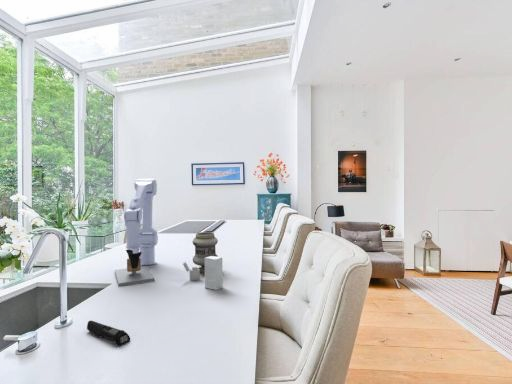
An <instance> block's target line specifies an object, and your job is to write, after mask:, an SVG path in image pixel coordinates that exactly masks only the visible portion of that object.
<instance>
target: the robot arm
mask: <svg viewBox="0 0 512 384" xmlns="http://www.w3.org/2000/svg"><path fill="white" fill-rule="evenodd" d="M133 184H134V190H135V195H134V196H135V197H133V198H132V199H131V201H130V202H129V203H130V204H129V206H128V209H127V210H125V211H124V213H123V220H124V225H125V228H126V229H125V230H126V231H125V232H126V235H125V236H126V246H125V252H126V253H127V256H128V259H129V258H130V261H131V267H132V269H133V268H137V267H138V262H139V258H140V259H141V267H142V266H148V265H156V264H157V261H156V259H155V258H156V257H155V256H156V252H155V251H156V249H155V247H156V246H157V245H158V242H159V236H158V230H157V229H155V228H154V227H153V199H154V196H156V195H157V191H158V189H157V188H158V187H157V185H158V184H157V179H155V178H136V179H135V180H134V183H133ZM141 222H142V225H141ZM141 226H142V227H141Z"/></svg>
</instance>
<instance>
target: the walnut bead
mask: <svg viewBox="0 0 512 384" xmlns="http://www.w3.org/2000/svg"><path fill="white" fill-rule="evenodd" d="M141 267H142V266H141V259H140V258H139V262H138V267H137V268H133V269H132V267H131V261H130V258H129V257H128V258H127V259H126V268H127V271H128V272H135V271H139V270H141Z"/></svg>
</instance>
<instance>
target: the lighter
mask: <svg viewBox="0 0 512 384" xmlns="http://www.w3.org/2000/svg"><path fill="white" fill-rule="evenodd" d="M182 265H183V267H184V270H185V271H186V273H188V272H189V281H198V280H199V279H200V278H201V276H200V275H201V273H200V269H198V268H199V267H198V266H197V267H196V266H192V267H191V269H190V267H189V266H188V264H187V262H186V261H183V262H182Z"/></svg>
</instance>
